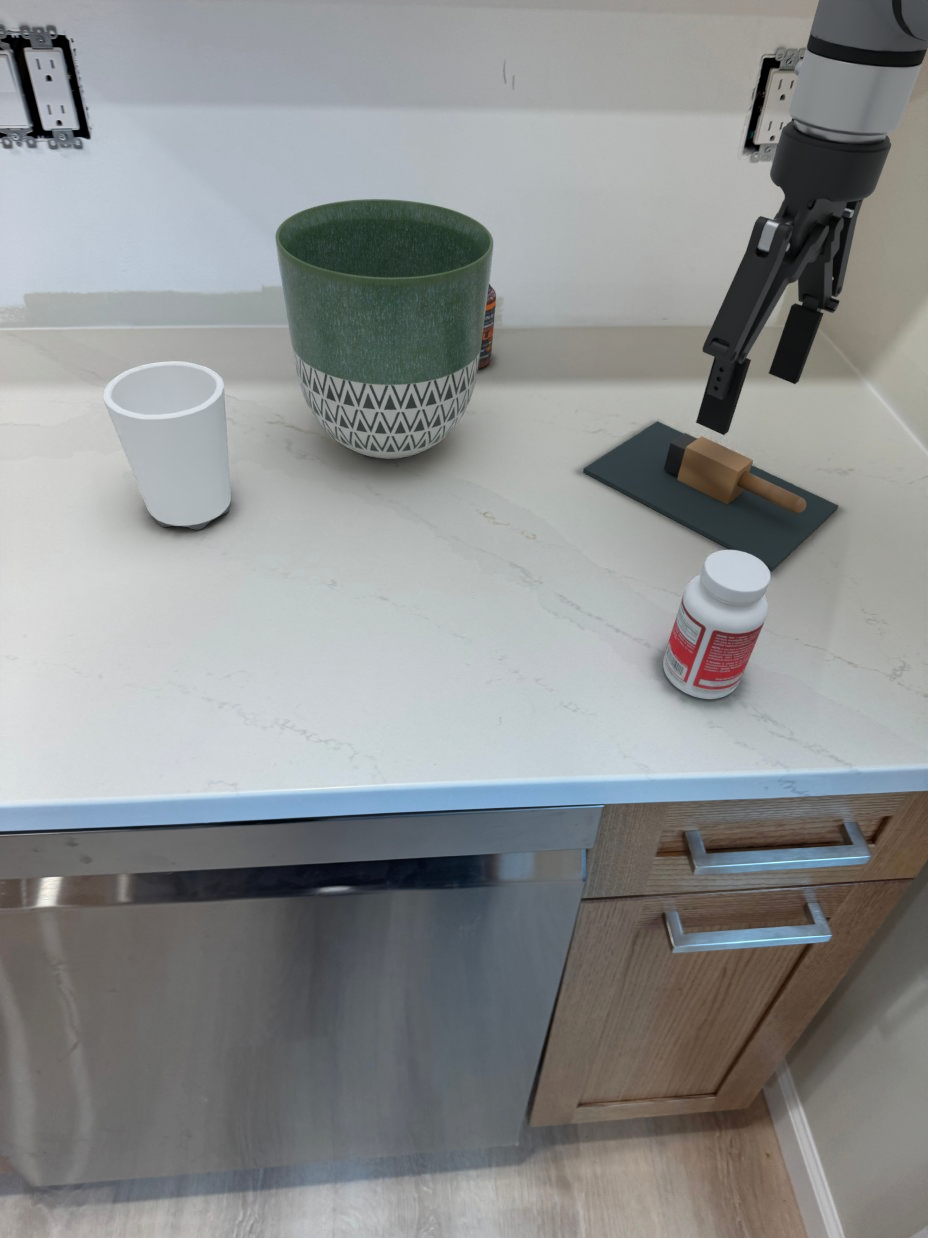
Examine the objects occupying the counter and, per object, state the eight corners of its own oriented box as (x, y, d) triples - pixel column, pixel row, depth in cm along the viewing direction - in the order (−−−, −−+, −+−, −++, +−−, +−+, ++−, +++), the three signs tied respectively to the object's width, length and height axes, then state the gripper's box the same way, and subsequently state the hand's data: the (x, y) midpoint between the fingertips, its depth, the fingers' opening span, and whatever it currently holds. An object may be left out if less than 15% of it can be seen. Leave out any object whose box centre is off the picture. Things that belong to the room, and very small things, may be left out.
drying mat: (837, 509, 84) (838, 505, 83) (771, 571, 76) (773, 567, 76) (656, 424, 94) (657, 420, 94) (582, 471, 86) (583, 467, 86)
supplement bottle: (479, 376, 100) (485, 283, 92) (435, 364, 102) (437, 272, 94) (498, 356, 104) (506, 265, 96) (456, 345, 106) (460, 255, 98)
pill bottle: (749, 668, 67) (794, 565, 59) (720, 714, 63) (763, 611, 56) (680, 634, 69) (714, 531, 62) (648, 677, 66) (680, 573, 58)
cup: (147, 551, 74) (111, 427, 65) (128, 491, 80) (94, 370, 71) (256, 526, 77) (236, 404, 68) (230, 470, 83) (209, 352, 74)
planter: (301, 395, 95) (282, 196, 80) (469, 395, 96) (481, 200, 82) (291, 495, 81) (266, 276, 66) (487, 493, 83) (506, 280, 68)
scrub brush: (803, 522, 81) (817, 489, 78) (789, 536, 79) (803, 502, 76) (677, 461, 88) (686, 428, 85) (662, 472, 86) (670, 439, 83)
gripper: (860, 92, 66) (776, 344, 81) (702, 144, 53) (636, 434, 68) (954, 112, 63) (847, 372, 78) (810, 173, 49) (715, 472, 65)
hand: (749, 401), depth 73 cm, fingers open, 12 cm apart
